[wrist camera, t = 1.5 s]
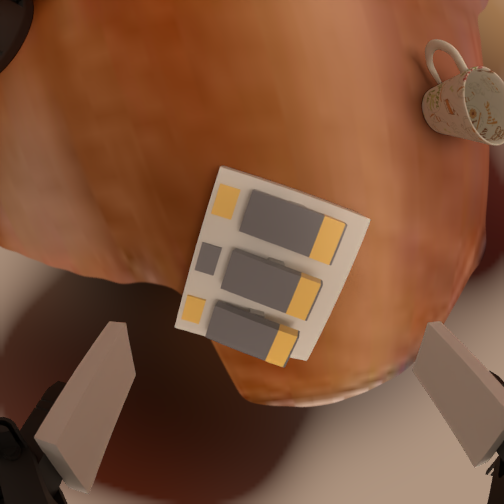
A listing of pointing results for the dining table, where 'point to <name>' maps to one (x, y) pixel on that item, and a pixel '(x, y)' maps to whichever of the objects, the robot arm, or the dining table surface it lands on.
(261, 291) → the rocker
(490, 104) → the mug
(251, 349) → the rocker
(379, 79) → the dining table surface
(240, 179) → the switch unit
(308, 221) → the rocker
